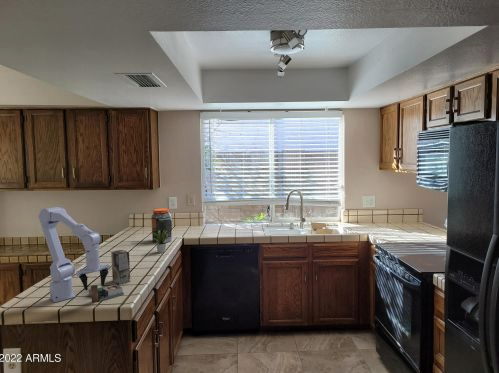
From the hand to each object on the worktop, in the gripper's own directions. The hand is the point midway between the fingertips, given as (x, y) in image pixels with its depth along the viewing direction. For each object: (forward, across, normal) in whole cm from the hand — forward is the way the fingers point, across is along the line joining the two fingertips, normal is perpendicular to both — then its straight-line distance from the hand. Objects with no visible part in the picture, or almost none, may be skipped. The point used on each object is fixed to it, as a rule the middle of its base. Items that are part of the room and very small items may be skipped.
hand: (94, 287), depth 171 cm
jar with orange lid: (+7, +87, +88) cm, 124 cm away
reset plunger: (+5, +10, +3) cm, 11 cm away
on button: (+5, +5, +9) cm, 11 cm away
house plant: (+7, +68, +56) cm, 89 cm away
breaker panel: (+7, +8, +5) cm, 11 cm away
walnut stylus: (+7, 0, 0) cm, 7 cm away
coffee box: (+7, +21, +19) cm, 30 cm away
